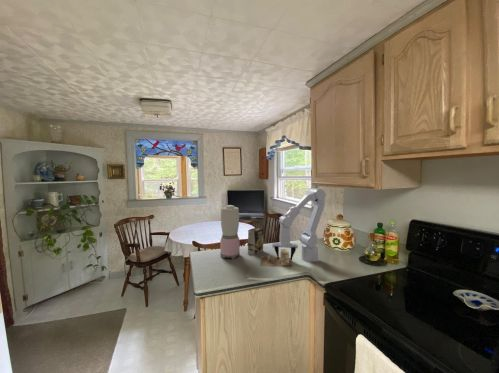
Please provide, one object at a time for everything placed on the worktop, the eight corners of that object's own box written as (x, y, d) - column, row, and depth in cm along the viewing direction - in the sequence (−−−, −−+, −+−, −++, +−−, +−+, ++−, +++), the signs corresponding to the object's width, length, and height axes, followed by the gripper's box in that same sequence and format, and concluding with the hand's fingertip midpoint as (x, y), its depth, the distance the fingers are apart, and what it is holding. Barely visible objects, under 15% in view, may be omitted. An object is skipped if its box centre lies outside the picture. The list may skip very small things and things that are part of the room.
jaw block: (288, 258, 133) (288, 249, 132) (289, 265, 124) (289, 255, 123) (280, 258, 133) (280, 248, 133) (281, 265, 124) (281, 254, 124)
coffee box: (255, 256, 139) (255, 231, 138) (247, 254, 143) (247, 229, 141) (263, 252, 146) (263, 228, 145) (255, 250, 150) (255, 226, 149)
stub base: (290, 259, 135) (290, 253, 134) (292, 268, 122) (292, 261, 121) (261, 258, 136) (261, 251, 136) (260, 267, 124) (260, 260, 123)
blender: (237, 260, 133) (237, 207, 131) (218, 259, 135) (217, 207, 132) (241, 250, 149) (241, 203, 146) (223, 249, 150) (223, 203, 148)
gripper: (272, 238, 124) (272, 261, 125) (298, 239, 123) (298, 263, 124) (272, 234, 131) (272, 256, 132) (297, 235, 130) (296, 258, 131)
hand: (284, 259), depth 128 cm, fingers open, 7 cm apart
